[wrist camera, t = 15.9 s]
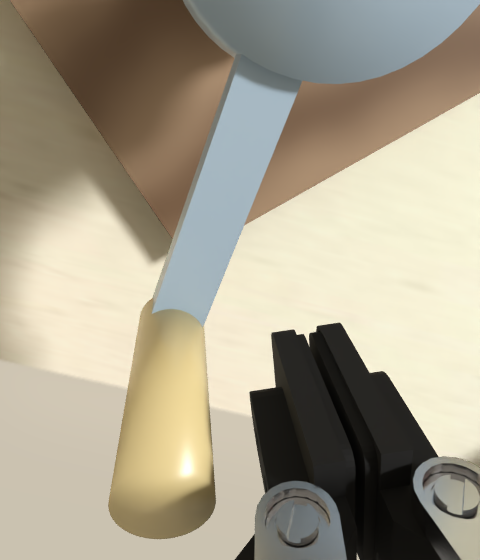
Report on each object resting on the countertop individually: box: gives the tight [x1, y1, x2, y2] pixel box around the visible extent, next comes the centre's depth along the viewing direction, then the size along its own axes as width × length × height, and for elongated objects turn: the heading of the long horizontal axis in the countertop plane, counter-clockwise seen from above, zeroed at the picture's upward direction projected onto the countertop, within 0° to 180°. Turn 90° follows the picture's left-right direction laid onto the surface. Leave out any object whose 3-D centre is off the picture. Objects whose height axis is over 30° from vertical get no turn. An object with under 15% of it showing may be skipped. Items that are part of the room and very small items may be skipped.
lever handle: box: [108, 0, 480, 539], centre depth 9 cm, size 15×7×9 cm, turn 159°
